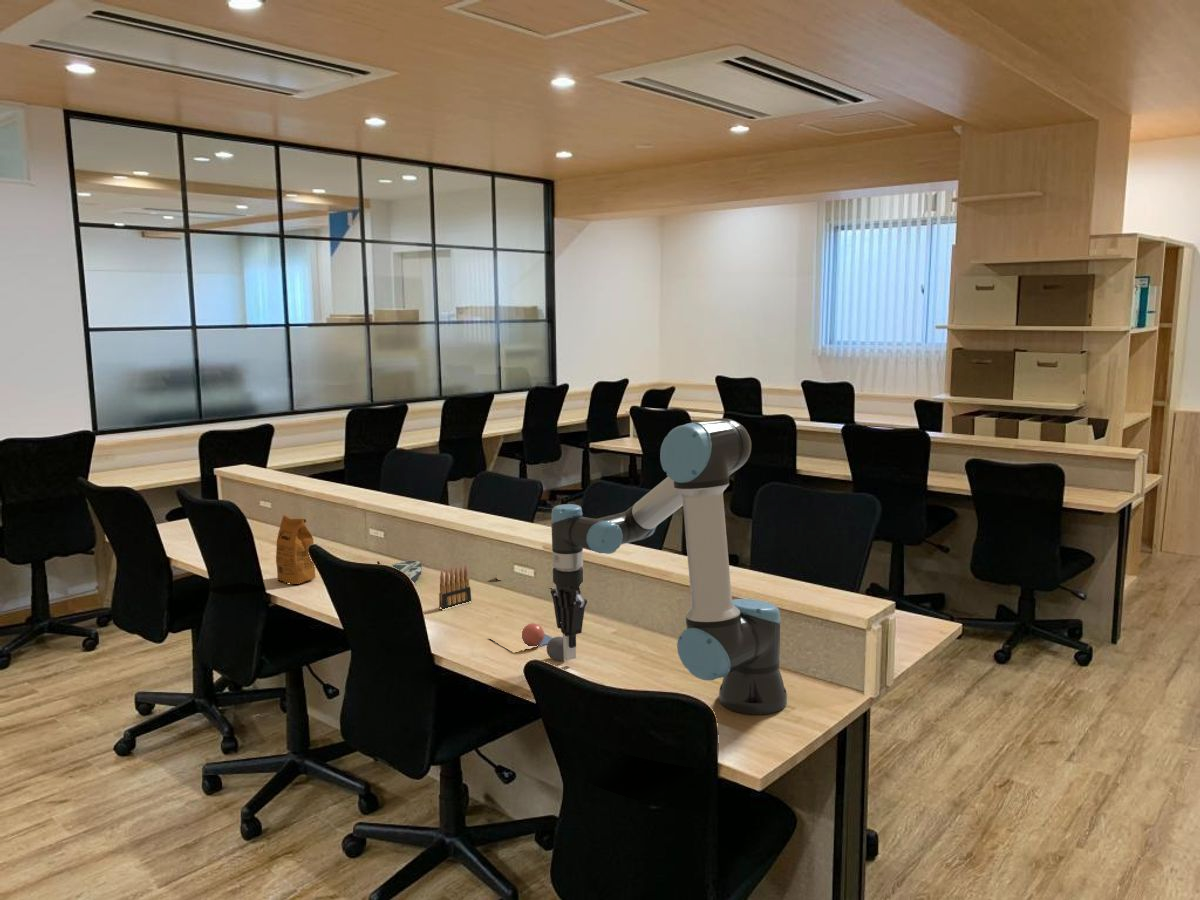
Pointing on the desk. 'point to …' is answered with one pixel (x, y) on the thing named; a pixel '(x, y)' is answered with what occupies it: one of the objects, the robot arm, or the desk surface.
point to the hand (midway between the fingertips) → (569, 658)
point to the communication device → (409, 568)
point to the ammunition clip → (454, 588)
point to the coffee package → (294, 552)
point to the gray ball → (556, 648)
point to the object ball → (532, 634)
